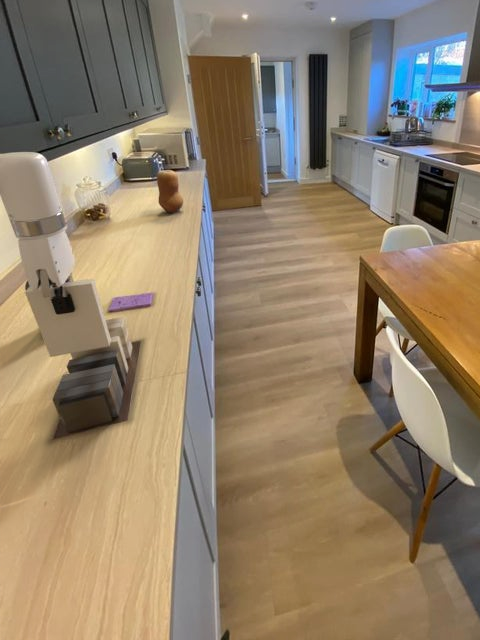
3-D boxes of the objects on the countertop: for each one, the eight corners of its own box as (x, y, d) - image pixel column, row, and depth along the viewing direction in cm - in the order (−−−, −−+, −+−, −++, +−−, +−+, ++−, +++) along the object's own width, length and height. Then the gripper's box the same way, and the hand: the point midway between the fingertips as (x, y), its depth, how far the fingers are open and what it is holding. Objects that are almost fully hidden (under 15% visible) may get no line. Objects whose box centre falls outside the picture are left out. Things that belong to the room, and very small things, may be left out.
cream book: (50, 357, 67) (24, 292, 61) (53, 350, 69) (29, 286, 62) (109, 346, 70) (91, 283, 64) (111, 340, 72) (93, 278, 66)
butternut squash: (189, 210, 198) (183, 169, 188) (173, 217, 187) (165, 174, 176) (171, 207, 203) (165, 167, 193) (155, 213, 192) (147, 171, 182)
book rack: (53, 443, 66) (34, 403, 61) (86, 354, 88) (74, 320, 84) (128, 423, 70) (116, 384, 65) (142, 343, 92) (133, 310, 88)
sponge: (114, 302, 110) (113, 297, 110) (154, 296, 114) (153, 291, 113) (109, 314, 104) (108, 309, 104) (151, 307, 108) (150, 303, 107)
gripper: (32, 211, 64) (59, 290, 71) (-9, 244, 50) (30, 338, 57) (76, 208, 66) (98, 285, 73) (48, 238, 52) (78, 329, 60)
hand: (68, 307), depth 65 cm, fingers closed on cream book, 2 cm apart
